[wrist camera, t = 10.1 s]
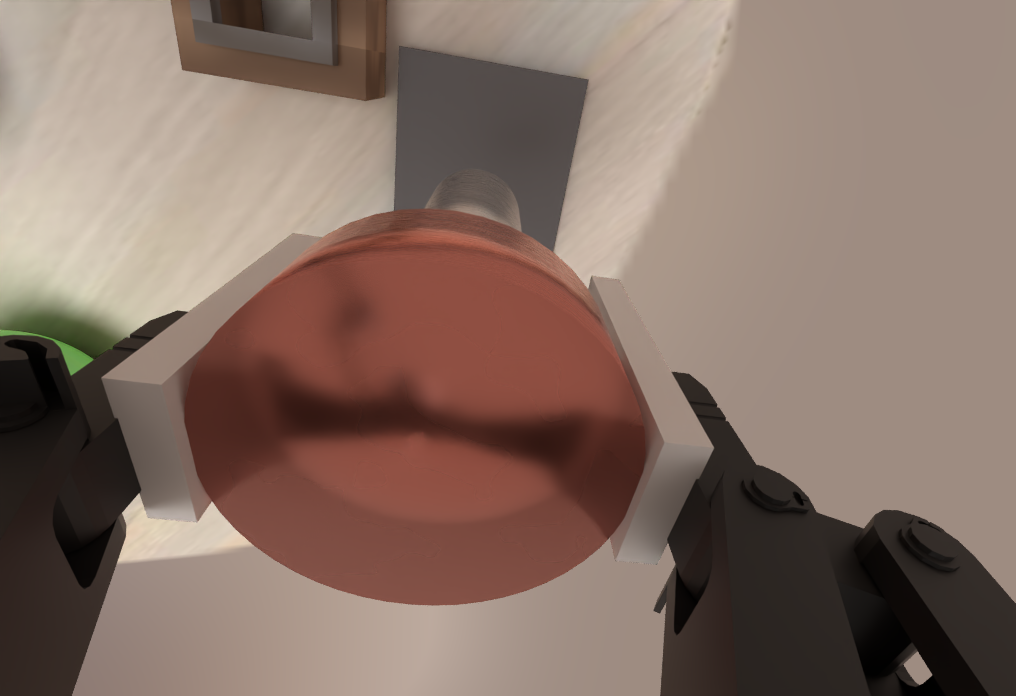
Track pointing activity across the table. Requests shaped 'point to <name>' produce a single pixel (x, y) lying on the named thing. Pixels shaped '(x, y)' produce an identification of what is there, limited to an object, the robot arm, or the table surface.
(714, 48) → the table surface
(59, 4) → the table surface
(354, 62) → the eye block
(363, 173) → the table surface
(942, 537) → the robot arm
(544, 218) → the rubber mat
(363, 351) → the peg
